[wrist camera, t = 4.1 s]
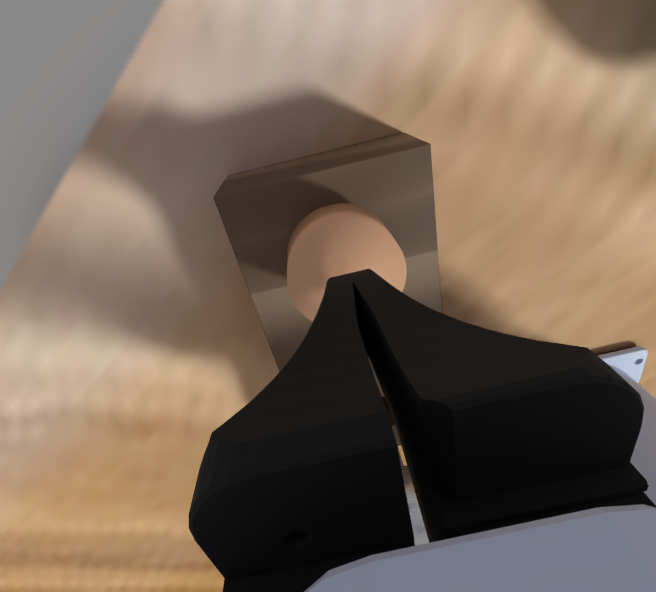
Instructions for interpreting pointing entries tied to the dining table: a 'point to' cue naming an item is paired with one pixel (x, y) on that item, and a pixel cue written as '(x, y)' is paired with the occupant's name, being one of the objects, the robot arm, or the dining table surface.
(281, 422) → the robot arm
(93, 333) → the dining table surface
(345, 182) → the brown piece
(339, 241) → the terracotta plunger
